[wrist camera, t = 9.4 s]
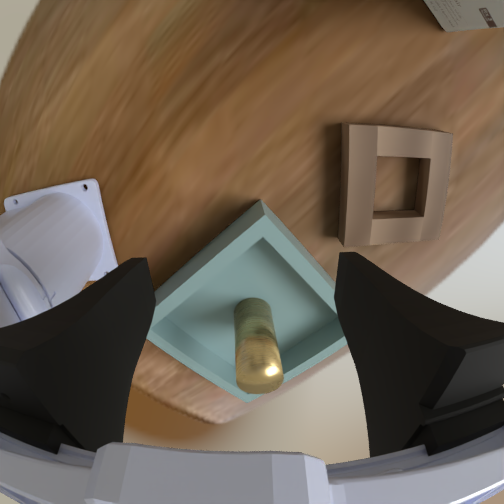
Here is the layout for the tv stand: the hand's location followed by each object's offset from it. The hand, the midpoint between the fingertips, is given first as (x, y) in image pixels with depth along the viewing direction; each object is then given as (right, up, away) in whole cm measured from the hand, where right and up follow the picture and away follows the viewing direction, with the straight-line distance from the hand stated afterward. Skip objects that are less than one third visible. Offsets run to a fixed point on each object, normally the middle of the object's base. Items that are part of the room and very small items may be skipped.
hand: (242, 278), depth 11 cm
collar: (+11, +6, +9) cm, 16 cm away
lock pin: (0, -4, +13) cm, 14 cm away
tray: (0, -4, +14) cm, 14 cm away
